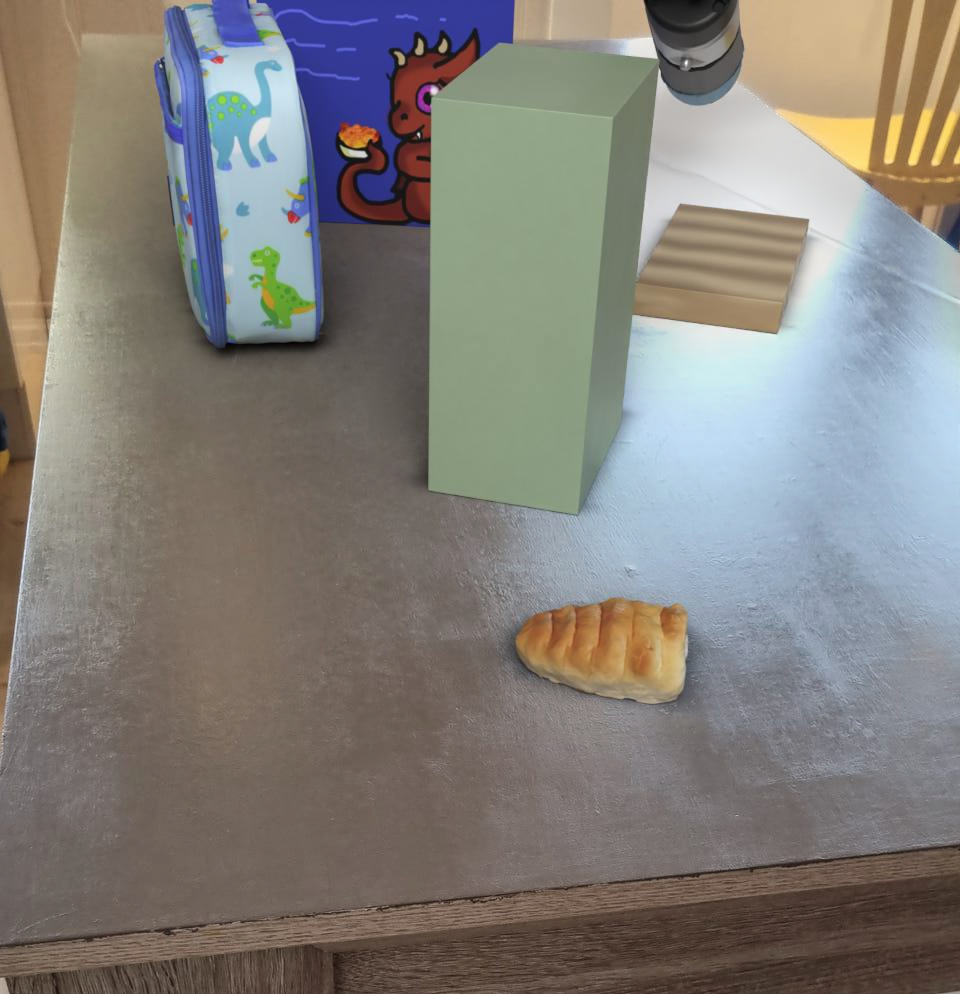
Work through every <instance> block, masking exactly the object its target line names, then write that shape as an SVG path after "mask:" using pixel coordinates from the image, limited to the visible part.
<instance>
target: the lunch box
mask: <svg viewBox="0 0 960 994" xmlns="http://www.w3.org/2000/svg"><path fill="white" fill-rule="evenodd" d="M163 19H164V27H163V55H164V56H162V57H158V58H157V60H156V62H155V63H154V65H153V72H154V73H153V74H154V81H155V86H156V88H157V89H156V90H157V93H158V96H159V104H160V107H161V108H160V109H161V112H160V113H161V122H162V132H163V141H164V150H165V157H166V166H167V173H168V174H167V176H166V180H167V187H168V188H167V189H168V196H169V204H170V210H171V211H170V212H171V217H172V218H171V219H172V226H173V227H174V228H175V235H176V240H177V247H178V251H179V256H180V262H181V267H182V272H183V276H184V281H185V286H186V290H187V295H188V298H189V301H190V306H191V309H192V312H193V315H194V317H195V319H196V321H197V323H198V325H199V326H200V327H201V328H202V330H203V332H204V335H205V337H206V338H207V340H208V342H209V343H211V344H213V346H214V347H216V348H218V349H224V348H225V347H226V344H227V343H230V344H235V345H236V344H237V345H244V344H256V345H257V344H266V343H267V344H268V343H282V344H283V343H292V342H296V343H304V342H310V343H311V342H312V343H314V342H315V341H317V340H319V339H320V330H321V328H322V326H323V323H324V320H325V319H324V317H325V302H324V283H323V264H322V246H321V245H322V244H321V233H320V222H319V219H318V204H317V190H316V180H315V170H314V162H313V154H312V147H311V139H310V133H309V127H308V121H307V115H306V109H305V106H304V102H303V98H302V95H301V92H300V89H299V86H298V83H297V77H296V67H295V61H294V58H293V55H292V53H291V51H290V49H289V48H288V46H287V44H286V41H285V40H284V38H283V36H282V34H281V32H280V29H279V28H278V25H277V22H276V19H275V17H274V14H273V10H272V8H270V7H268V5H267V4H265V3H256V2H251V3H250V0H211V3H193V4H191V5H190V4H189V5H187V6H185V7H184V8H183V9H182V7H181V6H179V5H175V4H174V5H173V6H172V7H168V8H167V10H164V11H163Z"/></svg>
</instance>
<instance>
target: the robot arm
mask: <svg viewBox="0 0 960 994" xmlns="http://www.w3.org/2000/svg"><path fill="white" fill-rule="evenodd" d="M642 1H643V5H644V10H645V15H646V18H647V22H648V26H649V30H650V34H651V38H652V41H653V45H654V49H655V52H656V53H655V54H656V58H657V59H660V62H659V71H660V78H661V80H662V82H663V84H665V86H666V88H667V89H668V91H669V92H670V94H671V95H672V96H673V97H674V98H675V99H677V100H678V101H680V102H681V103H683V104H686V105H689V106H695V107H699V106H701V107H702V106H706V105H709V104H714V103H716V102H717V101H719V100H721V99H723V97H725V96H726V95H727V94H728V93H729V92H730V91H731V90H732V88H733V87H734V85H735V84H736V82H737V80H738V78H739V76H740V74H741V70H742V65H743V59H744V53H745V43H744V39H743V37H742V30H741V29H742V28H741V20H740V19H741V17H740V15H741V13H740V0H642Z"/></svg>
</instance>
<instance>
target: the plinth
mask: <svg viewBox="0 0 960 994" xmlns="http://www.w3.org/2000/svg"><path fill="white" fill-rule="evenodd" d="M659 62H660V59H658V58H654V57H645V56H634V55H625V54H615V53H605V52H595V51H584V50H575V49H566V48H555V47H548V46H547V47H546V46H535V45H528V44H516V43H513V44H508V43H498V44H497V45H496V46H494V47H493V48H492V49H491V50H489V51H488V52H487V53H486V54H485V55H483V56H482V57H481V58H480V59H478V60H477V61H476V62H475V63H474V64H472V65H471V66H470V67H469V68H467V69H466V70H465V71H464V72H463V73H461V74H460V75H459V76H458V77H456V78H455V79H454V80H453V81H452V82H450V83H449V84H448V85H447V86H445V87H444V88H443V89H442V90H441V91H439V92H438V93H437V94H436V95H434V96H433V97H432V98H431V206H430V227H429V341H428V343H429V345H428V347H429V348H428V349H429V353H428V459H427V461H428V465H427V466H428V468H427V469H428V471H427V474H428V476H427V478H428V479H427V484H428V485H427V488H428V489H427V490H428V491H429V492H434V493H440V494H447V495H452V496H459V497H463V498H471V499H476V500H483V501H489V502H496V503H500V504H501V503H502V504H507V505H513V506H519V507H525V508H530V509H532V508H533V509H538V510H544V511H549V512H556V513H562V514H567V515H574V516H578V515H579V513H580V512H581V509H582V508H583V505H584V503H585V501H586V499H587V496H588V495H589V492H590V491H591V488H592V487H593V484H594V482H595V481H596V477H597V476H598V473H599V471H600V469H601V467H602V465H603V463H604V460H605V459H606V456H607V454H608V453H609V450H610V448H611V446H612V444H613V442H614V440H615V438H616V436H617V433H618V431H619V429H620V427H621V424H622V416H623V408H624V397H625V389H626V380H627V371H628V360H629V352H630V342H631V333H632V332H631V331H632V323H633V315H634V314H633V305H634V296H635V287H636V282H637V278H638V277H637V276H638V268H639V267H638V266H639V257H640V247H641V238H642V232H643V231H642V229H643V221H644V220H643V219H644V211H645V201H646V193H647V192H646V191H647V184H648V173H649V165H650V156H651V155H650V154H651V145H652V136H653V126H654V117H655V108H656V98H657V88H658V80H659V71H660V69H659Z"/></svg>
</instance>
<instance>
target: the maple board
mask: <svg viewBox="0 0 960 994" xmlns="http://www.w3.org/2000/svg"><path fill="white" fill-rule="evenodd" d="M809 224H810V218H804V217H797V216H788V215H779V214H771V213H762V212H755V211H746V210H737V209H731V208H722V207H713V206H706V205H705V206H704V205H696V204H689V203H682V202H681V203H679V204H678V206H677V208H676V209H675V211H674V213H673V215H672V216H671V219H670V221H669V222H668V224H667V226H666V228H665V230H664V231H663V233H662V235H661V237H660V239H659V240H658V243H657V244H656V246H655V248H654V249H653V251H652V253H651V255H650V257H649V258H648V261H647V262H646V264H645V266H644V268H643V269H642V271H641V273H640V275H639V277H637V279H636V287H635V296H634V305H633V315H638V316H644V317H652V318H658V319H659V318H660V319H668V320H674V321H681V322H689V323H695V324H703V325H710V326H717V327H725V328H732V329H739V330H747V331H748V330H749V331H753V332H762V333H768V334H769V333H770V334H778V333H779V331H780V327H781V324H782V321H783V318H784V315H785V311H786V309H787V304H788V301H789V299H790V295H791V291H792V290H793V289H792V288H793V285H794V282H795V278H796V277H797V273H798V269H799V266H800V263H801V259H802V256H803V254H804V253H803V252H804V250H805V246H806V242H807V236H808V229H809Z"/></svg>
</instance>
